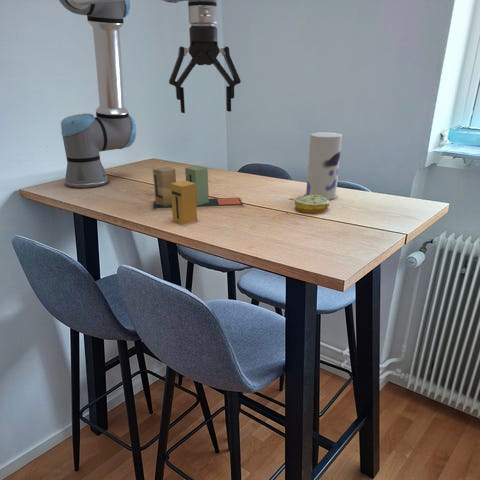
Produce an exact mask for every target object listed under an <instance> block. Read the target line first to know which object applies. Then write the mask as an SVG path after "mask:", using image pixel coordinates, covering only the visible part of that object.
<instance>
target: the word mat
mask: <svg viewBox="0 0 480 480" xmlns="http://www.w3.org/2000/svg"><path fill="white" fill-rule="evenodd" d="M153 201H154V202H153V209H154V210H155V209H157V210H158V209H172V205H171V206H167V207H164V206H161V205H158V204H156V200H155V199H154V200H153ZM237 206H243V203H242V201H241V198H240V197H217V198H213V197H212V198H209V203H206V204H202V205H198V206H197V208H209V207H237Z"/></svg>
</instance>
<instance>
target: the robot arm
mask: <svg viewBox="0 0 480 480" xmlns="http://www.w3.org/2000/svg"><path fill="white" fill-rule="evenodd" d="M58 1H59V2H60V4H61V5H62V6H63V7H64V8H65V9H66V10H67V11H69V12H70V13H73V14H75V15H81V16H86V19H87V23H88V24H89V26H91V27H92V33H93V34H92V35H93V44H94V45H93V46H94V56H95V68H96V79H97V80H96V81H97V91H98V99H99V100H98V101H99V105H98V107H97V108H96V109H95V116H94V114H92V113H77V114H73V115H69V116H66V117H64V118H63V119H62V120H61V122H60V130H61V136H62V142H63V146H64V152H65V158H66V163H67V165H66V169H65V177H64V180H65V181H64V182H65V185H66V187H69V188H72V189H73V188H74V189H75V188H76V189H90V188H96V187H101V186H105V185H107V184H108V183H109V176H108V174H107V172H106V170H105V168H104V165H103V164H102V161H101V157H100V156H101V155H100V152H106V151H113V150H123V149H125V148H129V147H131V146H132V145H133V143H134V142H135V141H136V136H137V126H136V123H135V120H134V118H133V116H132V115H131V114H129V113H130V111H129V110H128V109H127V108H126V107H125V101H124V100H125V99H124V98H125V97H124V84H123V83H124V82H123V67H122V51H121V49H122V48H121V33H120V30H121V28H122V27H123V26H124V25H125V24H124V19H125V18H126V17H127V16H129V13H130V10H131V0H58ZM162 1H163V2H165V3H173V4H176V3H179V2H186V1H187V8H188V9H187V10H188V23H189V24H190V27H189V28H188V30H189V31H188V32H189V47H184V46H179V47H178V54H177V58H176V61H175V63H174V66H173V69H172V72H171V74H170V77H169V80H168V84H169V85H171V86H174V88H175V96H176V97H175V98H176V100H177V101H179V102H180V113H182V114H185V113H186V108H185V107H186V106H185V90H184V87H183V86H182V85H183V83H184V82H185V81H186V79H187V78H188V77H189V74H190V73H191V72H192V70H193V69H194V67H196V65H197V66H204V65H205V66H212V65H213V66H214V67H215V69H216V70H217V72H218V73H219V74H220V75H221V76H222V78H223V79H224V80H225V82H226V83H227V85H226V86H225V96H226V97H225V99H226V101H225V102H226V103H225V105H226V106H225V107H226V111H227V112H229V113H231V112H232V99H235V88H236V87H235V86H237V85H240V84H241V83H242V80H241V77H240V75H239V74H238V71H237V68H236V66H235V64H234V62H233V60H232V57H231V54H230V47H229V46H223V47H219V43H218V27H217V26H216V25H217V24H218V10H217V9H218V8H217V7H218V6H217V2H218V1H217V0H162ZM188 54H189V55H190V57H191V59H190V61H189V62H188V64H187V65H186V67H185V68H184V70H183V72H182V73H181V75H180V76H179V77H178V75H179V72H180V69H181V66H182V64H183V61H184V59H185V57H186V56H187V55H188ZM219 54H220V55H221V56H222V57H223V59H224V61H225V63H226V66H227V67H228V70H229V72H230V74H231V76H230V75H229V73H227V71H226V70H225V68H224V67H223V65H222V64H221V62H220V61H219V60H218V58H217V57H218V56H219ZM177 77H178V78H177ZM176 80H177V81H176Z"/></svg>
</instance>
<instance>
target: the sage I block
mask: <svg viewBox="0 0 480 480" xmlns="http://www.w3.org/2000/svg"><path fill="white" fill-rule="evenodd" d="M184 170H185V171H184V173H185V181H188V182H192V183H195V184H196V204H197V206H198V205H202V204H206V203H209V199H210V197H209V168H208V167H206V166H202V165H192V166H187V167H185V168H184Z"/></svg>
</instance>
